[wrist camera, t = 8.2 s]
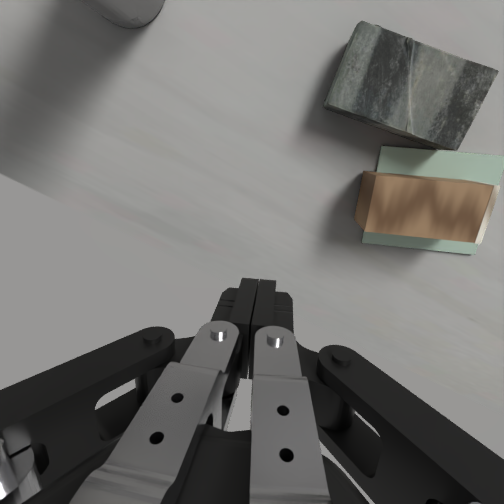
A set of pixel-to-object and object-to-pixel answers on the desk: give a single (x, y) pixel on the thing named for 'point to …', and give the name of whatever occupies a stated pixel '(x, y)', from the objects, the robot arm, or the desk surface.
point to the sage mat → (441, 167)
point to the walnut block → (425, 206)
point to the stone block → (408, 87)
